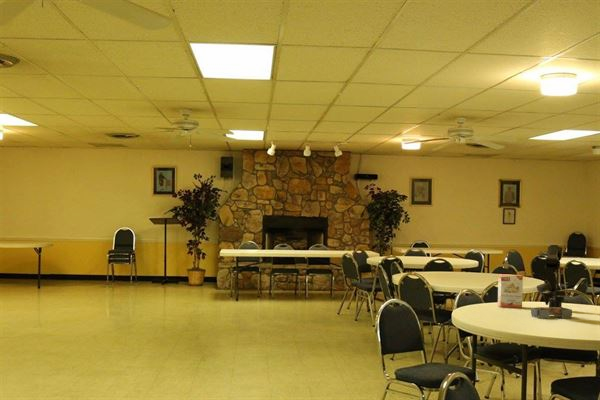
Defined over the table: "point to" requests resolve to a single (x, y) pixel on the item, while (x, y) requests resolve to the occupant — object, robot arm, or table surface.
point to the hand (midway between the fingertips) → (551, 306)
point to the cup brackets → (545, 314)
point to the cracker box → (510, 290)
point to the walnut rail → (552, 310)
